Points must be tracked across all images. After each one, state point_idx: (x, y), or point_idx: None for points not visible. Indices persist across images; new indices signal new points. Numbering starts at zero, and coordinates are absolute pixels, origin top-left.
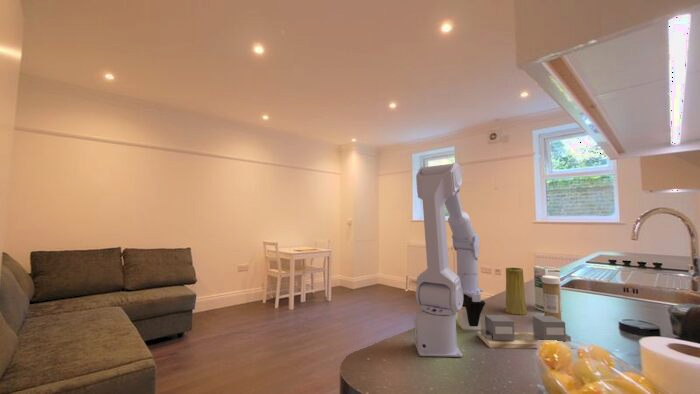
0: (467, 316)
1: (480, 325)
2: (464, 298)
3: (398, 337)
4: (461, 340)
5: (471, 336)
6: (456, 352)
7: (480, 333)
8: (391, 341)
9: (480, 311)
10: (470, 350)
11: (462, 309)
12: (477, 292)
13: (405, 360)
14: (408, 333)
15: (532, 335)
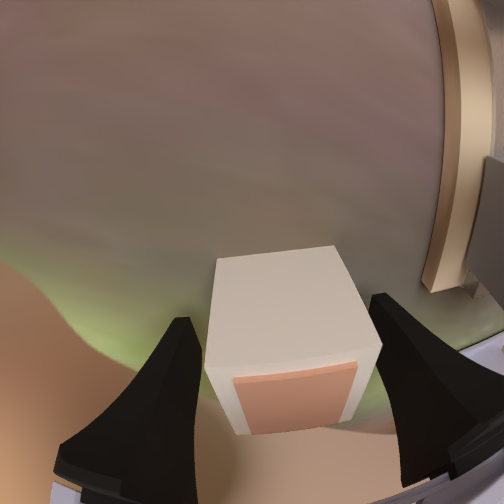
0: (382, 380)
1: (343, 264)
2: (172, 466)
3: (373, 429)
4: (441, 334)
5: (422, 305)
6: (500, 342)
7: (461, 287)
8: (391, 429)
9: (462, 359)
10: (497, 311)
11: (320, 424)
12: (496, 501)
13: None
14: (352, 427)
15: (495, 21)
